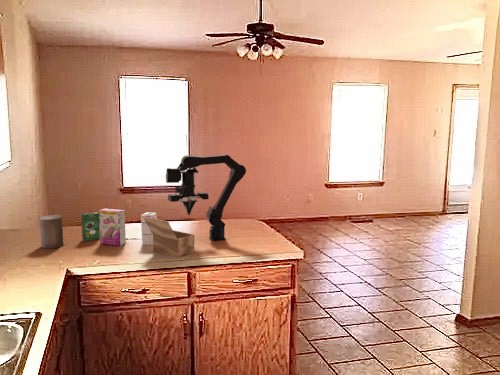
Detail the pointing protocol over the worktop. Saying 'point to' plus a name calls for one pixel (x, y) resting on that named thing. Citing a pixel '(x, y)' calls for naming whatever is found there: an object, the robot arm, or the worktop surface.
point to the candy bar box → (112, 227)
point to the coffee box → (90, 226)
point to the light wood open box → (174, 244)
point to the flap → (160, 227)
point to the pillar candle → (51, 231)
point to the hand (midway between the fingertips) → (188, 214)
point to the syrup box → (147, 229)
